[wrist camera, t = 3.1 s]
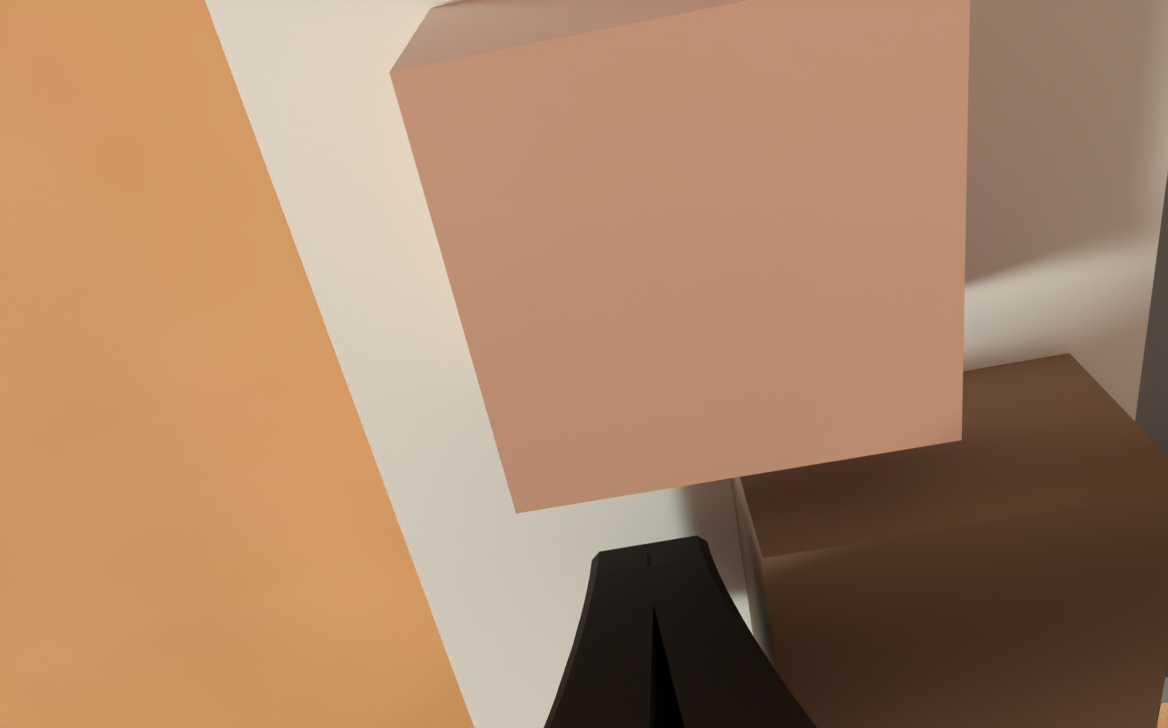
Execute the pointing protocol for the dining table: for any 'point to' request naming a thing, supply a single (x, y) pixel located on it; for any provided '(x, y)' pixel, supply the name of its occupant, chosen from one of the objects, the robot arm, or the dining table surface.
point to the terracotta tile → (697, 230)
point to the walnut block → (972, 567)
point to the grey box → (1157, 358)
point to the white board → (579, 531)
